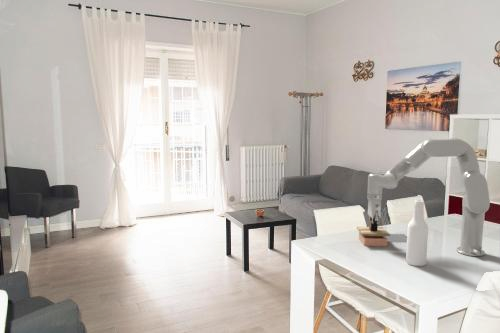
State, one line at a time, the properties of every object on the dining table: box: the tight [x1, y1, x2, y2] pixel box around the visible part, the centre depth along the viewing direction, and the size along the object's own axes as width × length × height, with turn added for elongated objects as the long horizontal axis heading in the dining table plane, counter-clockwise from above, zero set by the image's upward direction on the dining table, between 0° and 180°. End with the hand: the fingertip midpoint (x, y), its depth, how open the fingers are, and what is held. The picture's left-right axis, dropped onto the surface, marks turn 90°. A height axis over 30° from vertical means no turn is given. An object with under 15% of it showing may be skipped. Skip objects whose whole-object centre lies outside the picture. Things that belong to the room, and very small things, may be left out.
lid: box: [356, 220, 391, 236], centre depth 216 cm, size 14×14×6 cm
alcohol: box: [405, 199, 429, 267], centre depth 185 cm, size 9×9×30 cm
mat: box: [385, 233, 407, 243], centre depth 226 cm, size 16×16×1 cm
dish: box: [358, 231, 388, 247], centre depth 217 cm, size 12×12×4 cm
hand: (373, 229), depth 216 cm, fingers closed on lid, 3 cm apart
